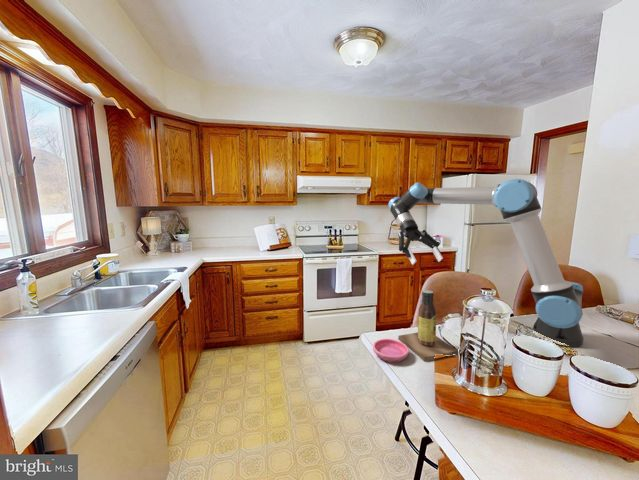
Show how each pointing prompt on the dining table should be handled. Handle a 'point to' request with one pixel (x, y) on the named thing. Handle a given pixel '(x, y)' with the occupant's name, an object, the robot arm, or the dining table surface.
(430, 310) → the sauce bottle
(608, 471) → the dining table surface
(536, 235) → the robot arm
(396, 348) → the saucer
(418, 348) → the walnut serving board
